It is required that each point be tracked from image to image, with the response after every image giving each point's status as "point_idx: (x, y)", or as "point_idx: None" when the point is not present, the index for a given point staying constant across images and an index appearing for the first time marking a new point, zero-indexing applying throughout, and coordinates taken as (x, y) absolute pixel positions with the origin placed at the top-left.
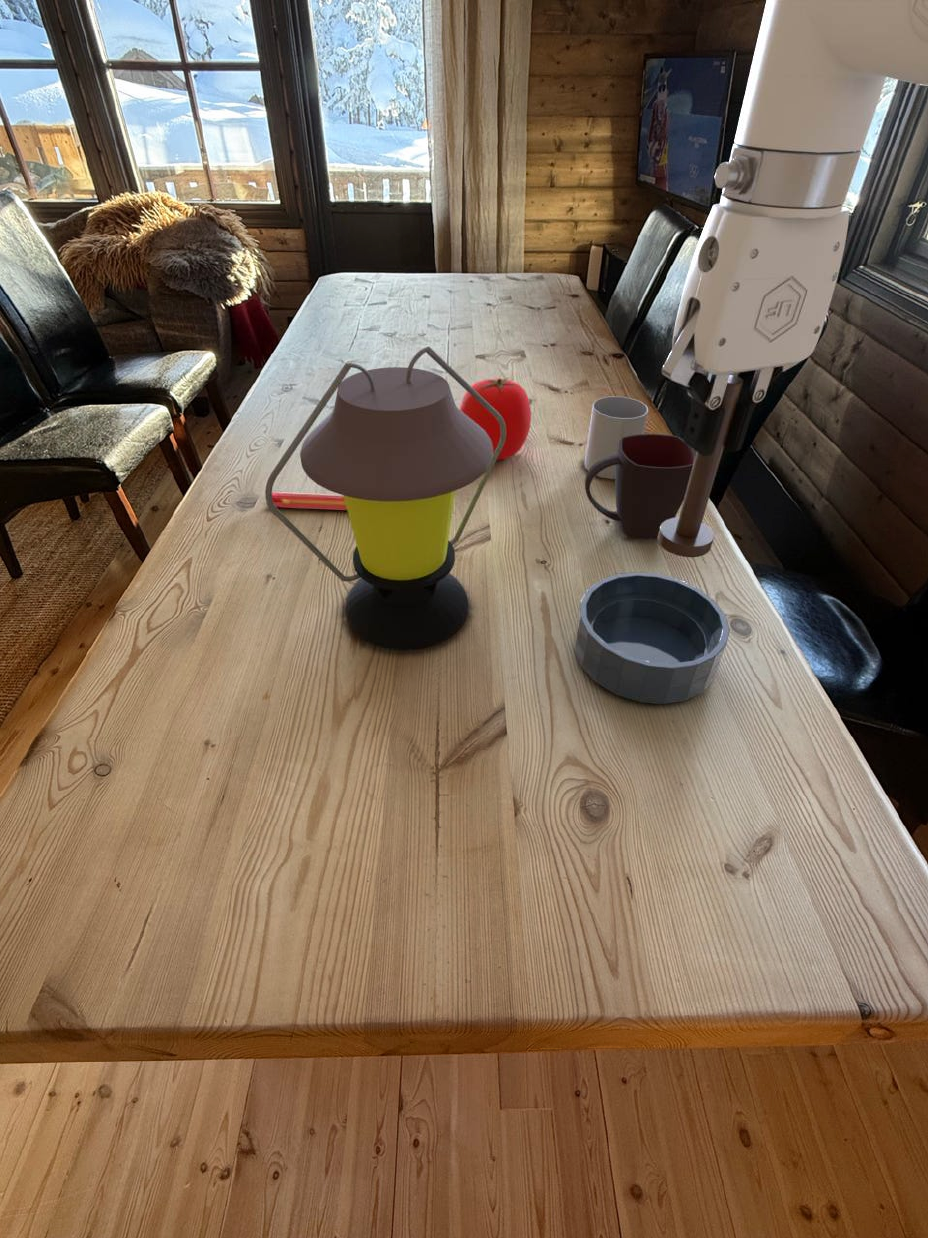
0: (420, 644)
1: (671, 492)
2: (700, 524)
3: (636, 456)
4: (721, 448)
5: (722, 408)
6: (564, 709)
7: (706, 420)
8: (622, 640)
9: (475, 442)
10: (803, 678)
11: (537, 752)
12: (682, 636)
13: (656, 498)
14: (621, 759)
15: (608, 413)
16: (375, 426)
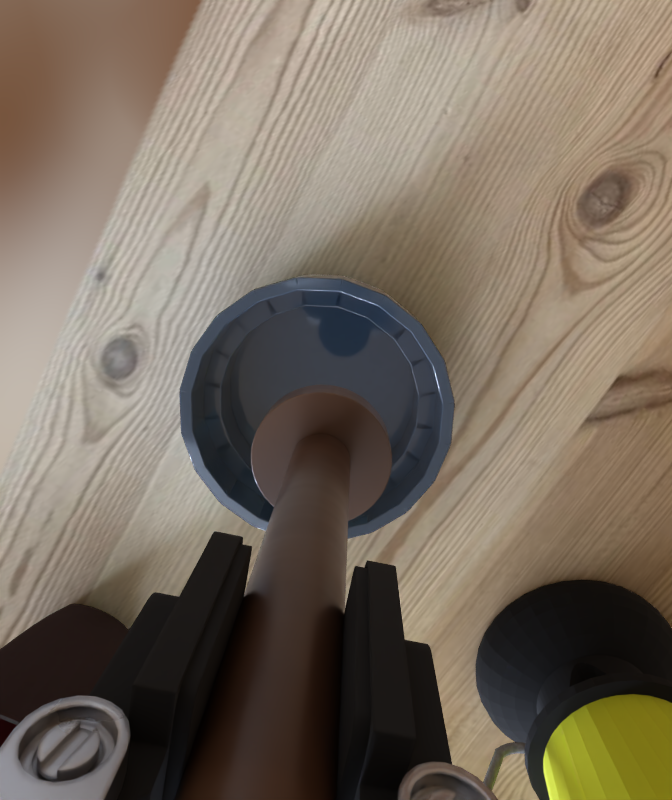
0: (617, 588)
1: (34, 666)
2: (308, 445)
3: None
4: (289, 574)
5: (375, 747)
6: (510, 369)
7: (417, 720)
8: None
9: None
10: (117, 211)
11: (604, 324)
12: (237, 388)
13: (68, 669)
14: (508, 245)
15: None
16: None
